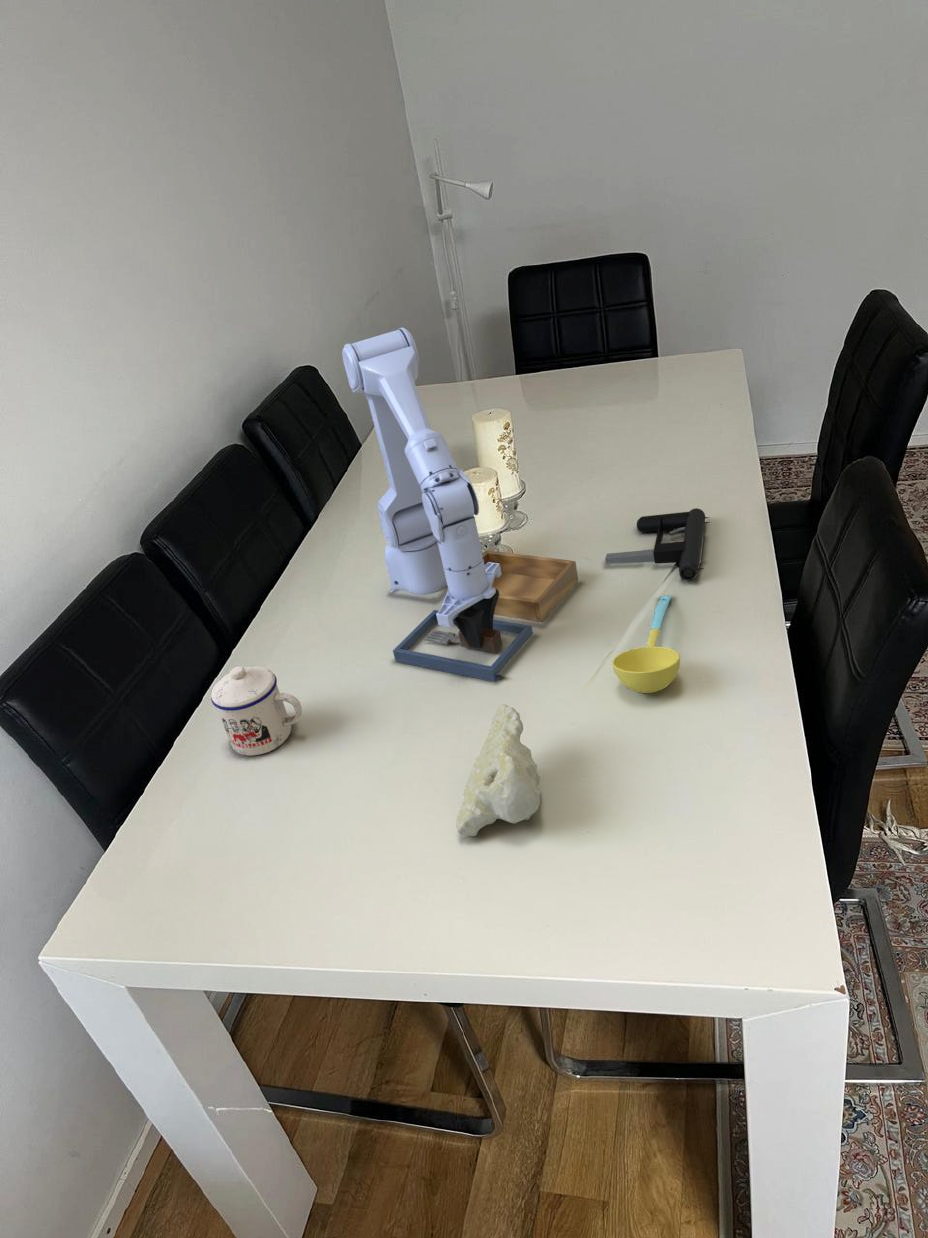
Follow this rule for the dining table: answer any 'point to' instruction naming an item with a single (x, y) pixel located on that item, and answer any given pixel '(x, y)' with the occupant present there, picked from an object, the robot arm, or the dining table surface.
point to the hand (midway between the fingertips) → (480, 641)
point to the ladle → (649, 660)
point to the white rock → (500, 778)
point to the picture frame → (460, 666)
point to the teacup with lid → (254, 710)
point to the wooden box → (530, 584)
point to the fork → (490, 640)
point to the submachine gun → (674, 552)
